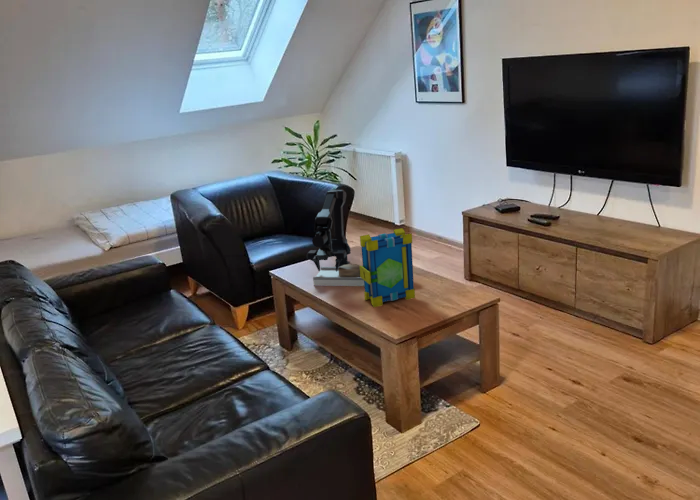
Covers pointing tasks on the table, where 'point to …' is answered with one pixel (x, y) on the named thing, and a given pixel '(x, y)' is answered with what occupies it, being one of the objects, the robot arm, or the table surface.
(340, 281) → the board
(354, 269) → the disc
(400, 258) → the decorative book
